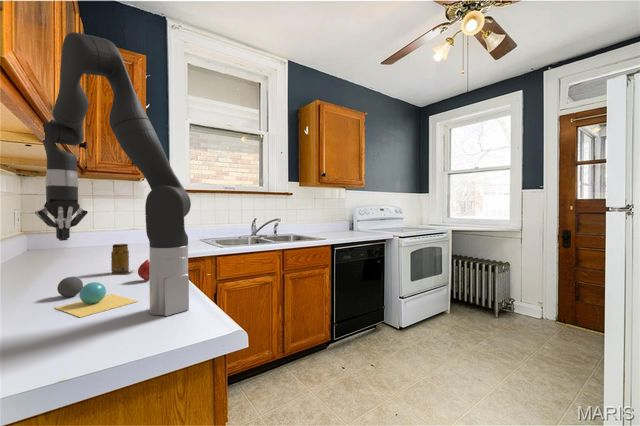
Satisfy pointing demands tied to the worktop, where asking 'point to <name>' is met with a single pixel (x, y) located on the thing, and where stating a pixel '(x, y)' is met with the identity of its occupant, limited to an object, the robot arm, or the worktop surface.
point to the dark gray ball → (70, 286)
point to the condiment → (120, 260)
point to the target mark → (95, 306)
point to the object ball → (92, 293)
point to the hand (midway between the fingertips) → (62, 240)
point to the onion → (144, 270)
